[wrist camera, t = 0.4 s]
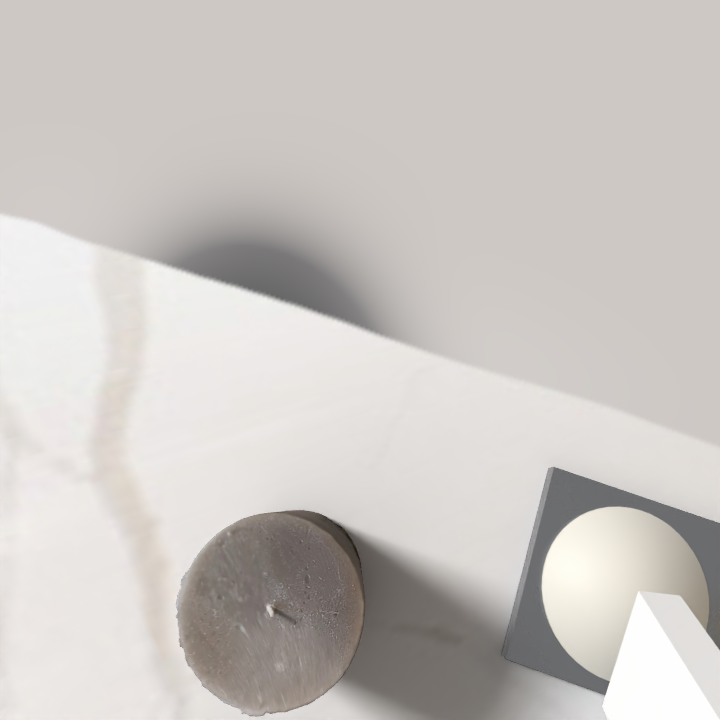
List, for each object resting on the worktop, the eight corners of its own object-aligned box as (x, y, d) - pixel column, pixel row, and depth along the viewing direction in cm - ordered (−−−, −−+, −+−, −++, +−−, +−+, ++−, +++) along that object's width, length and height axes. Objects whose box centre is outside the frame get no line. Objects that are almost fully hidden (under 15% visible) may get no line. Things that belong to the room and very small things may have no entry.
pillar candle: (364, 512, 44) (369, 513, 29) (360, 653, 41) (363, 730, 27) (236, 508, 44) (177, 507, 29) (224, 648, 41) (154, 724, 27)
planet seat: (739, 630, 41) (742, 631, 41) (599, 718, 40) (601, 719, 39) (645, 478, 44) (647, 478, 43) (510, 554, 42) (511, 555, 42)
